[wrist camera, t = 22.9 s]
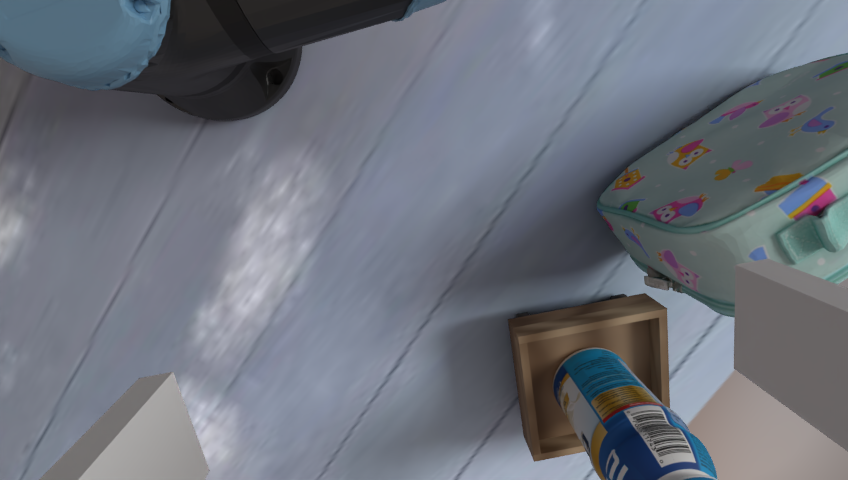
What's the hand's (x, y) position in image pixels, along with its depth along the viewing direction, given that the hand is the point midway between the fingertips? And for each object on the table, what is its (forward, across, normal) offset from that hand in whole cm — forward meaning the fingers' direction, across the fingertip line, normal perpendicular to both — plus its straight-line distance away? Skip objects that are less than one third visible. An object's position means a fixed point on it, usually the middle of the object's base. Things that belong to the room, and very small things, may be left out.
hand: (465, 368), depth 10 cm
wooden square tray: (+37, +15, -24) cm, 46 cm away
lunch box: (+37, +30, -4) cm, 48 cm away
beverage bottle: (+32, +15, -24) cm, 43 cm away
